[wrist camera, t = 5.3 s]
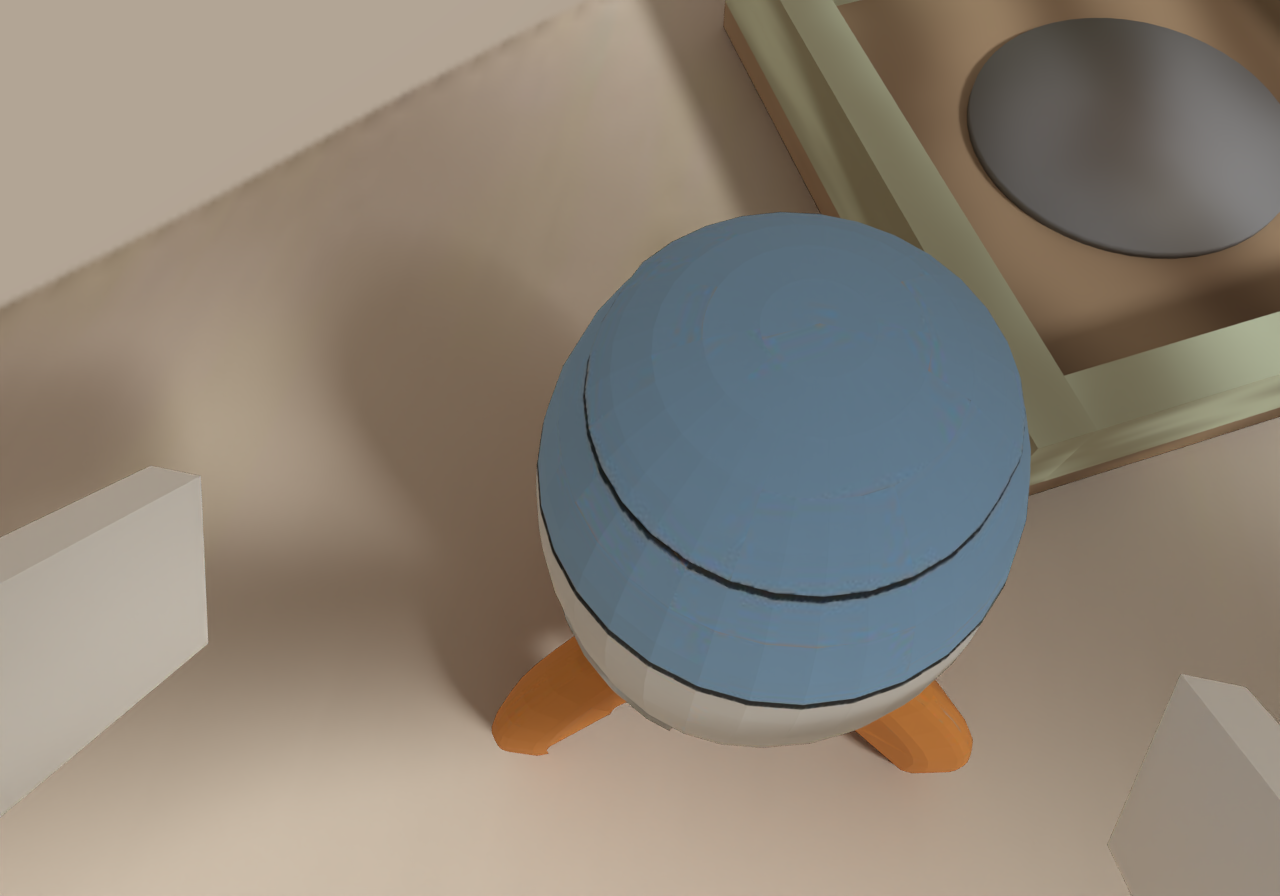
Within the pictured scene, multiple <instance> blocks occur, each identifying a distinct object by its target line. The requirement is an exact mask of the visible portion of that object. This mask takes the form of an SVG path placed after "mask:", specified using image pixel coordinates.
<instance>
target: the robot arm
mask: <svg viewBox="0 0 1280 896" xmlns="http://www.w3.org/2000/svg"><path fill="white" fill-rule="evenodd" d="M207 644H208V624H207V602H206V579H205V556H204V534H203V511H202V488H201V476H200V475H195V474H190V473H185V472H180V471H175V470H170V469H165V468H160V467H155V466H149V467H147V468H145V469H143V470H140V471H138V472H136V473H134V474H132V475H130V476H128V477H126V478H124V479H122V480H119V481H117V482H115V483H113V484H111V485H109V486H107V487H105V488H103V489H101V490H99V491H96V492H94V493H92V494H90V495H88V496H86V497H84V498H82V499H80V500H78V501H75V502H73V503H71V504H69V505H67V506H65V507H63V508H61V509H59V510H57V511H55V512H52V513H50V514H48V515H46V516H44V517H42V518H40V519H38V520H36V521H34V522H31V523H29V524H27V525H25V526H23V527H21V528H19V529H17V530H15V531H13V532H11V533H8V534H6V535H4V536H2V537H0V817H1V816H3V815H4V814H5V813H6V812H7V811H8V810H10V809H11V808H12V807H13V806H14V805H16V804H17V803H18V802H19V801H20V800H22V799H23V798H24V797H25V796H26V795H28V794H29V793H30V792H31V791H32V790H34V789H35V788H36V787H37V786H38V785H40V784H41V783H42V782H43V781H44V780H46V779H47V778H48V777H49V776H50V775H52V774H53V773H54V772H55V771H56V770H58V769H59V768H60V767H61V766H62V765H63V764H65V763H66V762H67V761H68V760H69V759H71V758H72V757H73V756H74V755H75V754H77V753H78V752H79V751H80V750H81V749H83V748H84V747H85V746H86V745H87V744H89V743H90V742H91V741H92V740H93V739H95V738H96V737H97V736H98V735H99V734H101V733H102V732H103V731H104V730H105V729H107V728H108V727H109V726H110V725H111V724H113V723H114V722H115V721H116V720H117V719H118V718H120V717H121V716H122V715H123V714H124V713H126V712H127V711H128V710H129V709H130V708H132V707H133V706H134V705H135V704H136V703H138V702H139V701H140V700H141V699H142V698H144V697H145V696H146V695H147V694H148V693H150V692H151V691H152V690H153V689H154V688H156V687H157V686H158V685H159V684H160V683H162V682H163V681H164V680H165V679H166V678H167V677H169V676H170V675H171V674H172V673H173V672H175V671H176V670H177V669H178V668H179V667H181V666H182V665H183V664H184V663H185V662H187V661H188V660H189V659H190V658H191V657H193V656H194V655H195V654H196V653H197V652H199V651H200V650H201V649H202V648H203V647H205V646H206V645H207ZM1107 845H1108V848H1109V850H1110V852H1111V854H1112V856H1113V858H1114V860H1115V862H1116V864H1117V866H1118V868H1119V870H1120V872H1121V875H1122V877H1123V879H1124V881H1125V883H1126V885H1127V887H1128V889H1129V891H1130V893H1131V895H1132V896H1280V725H1279V724H1278V722H1277V721H1276V720H1275V719H1274V718H1273V717H1272V716H1271V715H1270V713H1269V712H1268V711H1267V710H1266V709H1265V708H1264V707H1263V706H1262V705H1261V703H1260V702H1259V701H1258V700H1257V699H1256V698H1255V697H1254V696H1253V694H1252V693H1251V692H1250V691H1249V690H1248V689H1247V688H1246V687H1244V686H1239V685H1234V684H1229V683H1224V682H1219V681H1214V680H1209V679H1204V678H1199V677H1194V676H1189V675H1184V674H1180V676H1179V679H1178V681H1177V683H1176V686H1175V688H1174V690H1173V693H1172V695H1171V697H1170V700H1169V702H1168V704H1167V707H1166V709H1165V711H1164V714H1163V716H1162V718H1161V721H1160V723H1159V725H1158V728H1157V730H1156V732H1155V735H1154V737H1153V739H1152V742H1151V744H1150V746H1149V749H1148V751H1147V753H1146V756H1145V758H1144V760H1143V763H1142V765H1141V767H1140V770H1139V772H1138V774H1137V777H1136V779H1135V781H1134V784H1133V786H1132V788H1131V791H1130V793H1129V795H1128V798H1127V800H1126V802H1125V805H1124V807H1123V809H1122V812H1121V814H1120V816H1119V819H1118V821H1117V823H1116V826H1115V828H1114V830H1113V833H1112V835H1111V837H1110V840H1109V842H1108V844H1107Z"/></svg>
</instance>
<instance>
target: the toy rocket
mask: <svg viewBox="0 0 1280 896" xmlns="http://www.w3.org/2000/svg"><path fill="white" fill-rule="evenodd" d="M1030 462H1031V447H1030V439H1029V432H1028V425H1027V417H1026V410H1025V405H1024V398H1023V391H1022V383H1021V377H1020V374H1019V372H1018V369H1017V366H1016V363H1015V361H1014V358H1013V355H1012V352H1011V350H1010V347H1009V344H1008V342H1007V340H1006V338H1005V337H1004V335H1003V333H1002V332H1001V330H1000V328H999V327H998V325H997V323H996V322H995V320H994V319H993V317H992V315H991V314H990V312H989V310H988V309H987V308H986V306H985V305H984V304H983V303H982V302H981V301H980V300H979V299H978V298H977V296H976V295H975V294H974V293H973V292H972V291H971V290H970V289H969V287H968V286H967V285H966V284H965V283H964V282H963V281H962V280H961V279H960V278H959V277H958V276H956V275H955V274H954V273H953V272H951V271H950V270H949V269H947V268H946V267H945V266H944V265H942V264H941V263H940V262H939V261H937V260H936V259H935V258H934V257H932V256H931V255H930V254H928V253H926V252H924V251H922V250H921V249H919V248H917V247H915V246H913V245H912V244H910V243H908V242H906V241H904V240H903V239H901V238H899V237H897V236H895V235H893V234H890V233H887V232H885V231H882V230H879V229H876V228H874V227H871V226H868V225H865V224H863V223H860V222H857V221H852V220H847V219H842V218H837V217H832V216H827V215H822V214H809V213H788V212H777V213H768V214H758V215H749V216H741V217H737V218H734V219H730V220H726V221H723V222H719V223H715V224H712V225H708V226H705V227H703V228H701V229H699V230H696V231H694V232H692V233H690V234H688V235H686V236H683V237H681V238H679V239H677V240H675V241H673V242H671V243H670V244H668V245H667V246H665V247H664V248H663V249H661V250H660V251H658V252H657V253H655V254H654V255H653V256H651V257H650V258H648V259H647V260H646V261H644V262H643V263H642V264H641V265H640V266H639V268H638V269H637V270H636V272H635V273H634V274H633V276H632V277H631V278H630V279H629V280H627V281H626V282H625V283H624V284H623V285H622V286H621V287H620V288H619V289H618V291H617V292H616V293H615V294H614V295H613V296H612V297H611V298H610V299H609V300H608V301H607V302H606V303H605V304H604V305H603V306H602V307H601V308H600V309H599V310H598V312H597V313H596V315H595V316H594V318H593V320H592V321H591V323H590V324H589V326H588V327H587V329H586V331H585V332H584V334H583V335H582V337H581V338H580V340H579V342H578V343H577V345H576V346H575V348H574V350H573V351H572V353H571V354H570V356H569V358H568V359H567V361H566V362H565V364H564V365H563V368H562V371H561V373H560V376H559V379H558V381H557V384H556V387H555V390H554V392H553V395H552V398H551V400H550V403H549V406H548V409H547V412H546V416H545V419H544V423H543V427H542V434H541V441H540V448H539V455H538V462H537V473H536V493H537V507H538V521H539V531H540V537H541V542H542V548H543V552H544V556H545V559H546V563H547V566H548V570H549V573H550V577H551V580H552V584H553V587H554V590H555V593H556V595H557V597H558V599H559V601H560V603H561V605H562V608H563V611H564V615H565V618H566V621H567V622H568V624H569V626H570V628H571V630H572V632H573V634H574V637H572V638H571V639H570V640H568V641H567V642H565V643H564V644H563V645H561V646H560V647H558V648H557V649H555V650H554V651H553V652H552V653H550V654H549V655H548V656H546V657H545V658H544V659H543V660H541V661H540V662H539V663H537V664H536V665H535V666H534V667H533V668H532V669H531V670H530V671H528V672H527V673H526V674H525V675H524V676H523V677H522V678H521V679H520V681H519V682H518V683H517V684H516V686H515V687H514V688H513V689H512V691H511V692H510V694H509V695H508V697H507V698H506V700H505V701H504V703H503V704H502V706H501V707H500V709H499V710H498V712H497V714H496V717H495V720H494V722H493V725H492V734H493V737H494V739H495V741H496V743H497V745H498V746H499V747H500V748H501V749H502V750H505V751H509V752H515V753H522V754H529V755H536V756H538V755H543V754H548V752H547V751H546V750H547V749H548V748H549V747H550V746H551V745H553V744H555V743H557V742H559V741H561V740H562V739H564V738H566V737H568V736H570V735H572V734H574V733H575V732H577V731H579V730H581V729H583V728H585V727H586V726H588V725H590V724H592V723H594V722H596V721H598V720H599V719H601V718H603V717H605V716H607V715H609V714H610V713H611V712H612V710H613V709H614V708H615V707H617V706H619V705H621V704H623V703H626V702H627V703H628V704H630V705H631V706H632V707H633V708H634V709H636V710H637V711H638V712H639V713H641V714H642V715H643V716H644V717H645V718H647V719H648V720H650V721H652V722H654V723H656V724H658V725H660V726H662V727H663V728H665V729H667V730H669V731H670V730H671V728H672V727H673V728H675V729H677V730H679V731H681V732H682V733H684V734H688V735H691V736H694V737H698V738H701V739H705V740H708V741H712V742H715V743H718V744H724V745H736V746H748V747H760V748H766V747H776V746H788V745H799V744H810V743H813V742H817V741H821V740H824V739H828V738H831V737H835V736H838V735H842V734H846V733H849V732H852V731H856V732H857V733H858V734H860V735H861V736H862V737H863V738H864V739H865V740H867V741H868V742H869V743H870V744H871V745H872V746H874V747H875V748H876V749H877V750H878V751H879V752H881V753H882V754H883V755H884V756H885V757H886V758H888V759H889V760H890V761H891V762H892V763H893V764H895V765H896V766H897V767H898V768H899V769H900V770H903V771H906V772H910V773H932V772H951V771H955V770H957V769H959V768H960V767H962V766H964V765H965V764H966V763H967V762H968V759H969V757H970V755H971V750H972V743H973V739H972V737H971V734H970V731H969V729H968V726H967V724H966V722H965V719H964V718H963V717H962V715H961V714H960V713H959V711H958V710H957V709H956V707H955V706H954V704H953V703H952V702H951V700H950V699H949V698H948V696H947V695H946V694H945V692H944V691H943V690H942V688H941V687H940V685H939V684H938V683H937V682H936V681H935V679H936V678H937V677H938V676H939V675H940V674H941V673H942V672H944V671H945V670H946V669H947V668H948V667H949V666H950V665H951V664H952V663H953V662H954V661H955V659H956V658H957V657H958V656H959V654H960V653H961V652H962V651H963V650H964V648H965V647H966V646H967V645H968V644H969V642H970V641H971V639H972V637H973V636H974V634H975V633H976V631H977V629H978V628H979V626H980V625H981V623H982V621H983V620H984V618H985V617H986V615H987V613H988V612H989V610H990V609H991V607H992V605H993V604H994V602H995V601H996V599H997V597H998V596H999V594H1000V592H1001V591H1002V589H1003V587H1004V586H1005V583H1006V580H1007V577H1008V574H1009V571H1010V568H1011V565H1012V562H1013V559H1014V556H1015V553H1016V550H1017V547H1018V544H1019V541H1020V538H1021V535H1022V532H1023V529H1024V525H1025V522H1026V517H1027V506H1028V495H1029V484H1030Z"/></svg>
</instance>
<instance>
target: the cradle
mask: <svg viewBox="0 0 1280 896" xmlns="http://www.w3.org/2000/svg"><path fill="white" fill-rule="evenodd" d="M723 27H724V29H725V30H726V32H727V34H728V36H729V38H730V40H731V42H732V44H733V46H734V48H735V50H736V52H737V54H738V55H739V57H740V59H741V61H742V63H743V65H744V67H745V69H746V71H747V73H748V75H749V77H750V78H751V80H752V82H753V84H754V86H755V88H756V90H757V92H758V94H759V96H760V98H761V100H762V101H763V103H764V105H765V107H766V109H767V111H768V113H769V115H770V117H771V119H772V121H773V123H774V125H775V126H776V128H777V130H778V132H779V134H780V136H781V138H782V140H783V142H784V144H785V146H786V148H787V149H788V151H789V153H790V155H791V157H792V159H793V161H794V163H795V165H796V167H797V169H798V171H799V173H800V174H801V176H802V178H803V180H804V182H805V184H806V186H807V188H808V190H809V192H810V194H811V196H812V197H813V199H814V201H815V203H816V205H817V207H818V209H819V211H820V213H821V214H822V215H827V216H832V217H837V218H842V219H847V220H852V221H857V222H860V223H863V224H865V225H868V226H871V227H874V228H876V229H879V230H882V231H885V232H887V233H890V234H893V235H895V236H897V237H899V238H901V239H903V240H904V241H906V242H908V243H910V244H912V245H913V246H915V247H917V248H919V249H921V250H922V251H924V252H926V253H928V254H930V255H931V256H932V257H934V258H935V259H936V260H937V261H939V262H940V263H941V264H942V265H944V266H945V267H946V268H947V269H949V270H950V271H951V272H953V273H954V274H955V275H956V276H958V277H959V278H960V279H961V280H962V281H963V282H964V283H965V284H966V285H967V286H968V287H969V289H970V290H971V291H972V292H973V293H974V294H975V295H976V296H977V298H978V299H979V300H980V301H981V302H982V303H983V304H984V305H985V306H986V308H987V309H988V310H989V312H990V314H991V315H992V317H993V319H994V320H995V322H996V323H997V325H998V327H999V328H1000V330H1001V332H1002V333H1003V335H1004V337H1005V338H1006V340H1007V342H1008V344H1009V347H1010V350H1011V352H1012V355H1013V358H1014V361H1015V363H1016V366H1017V369H1018V372H1019V374H1020V377H1021V383H1022V391H1023V398H1024V405H1025V410H1026V417H1027V425H1028V432H1029V439H1030V447H1031V462H1030V484H1029V495H1032V494H1036V493H1039V492H1042V491H1045V490H1048V489H1052V488H1055V487H1058V486H1061V485H1064V484H1067V483H1071V482H1074V481H1077V480H1080V479H1083V478H1086V477H1090V476H1093V475H1096V474H1099V473H1102V472H1105V471H1109V470H1112V469H1115V468H1118V467H1121V466H1125V465H1128V464H1131V463H1134V462H1137V461H1140V460H1144V459H1147V458H1150V457H1153V456H1156V455H1159V454H1163V453H1166V452H1169V451H1172V450H1175V449H1178V448H1182V447H1185V446H1188V445H1191V444H1194V443H1198V442H1201V441H1204V440H1207V439H1210V438H1213V437H1217V436H1220V435H1223V434H1226V433H1229V432H1232V431H1236V430H1239V429H1242V428H1245V427H1248V426H1252V425H1255V424H1258V423H1261V422H1264V421H1267V420H1271V419H1274V418H1277V417H1280V0H725V11H724V23H723ZM1029 495H1028V496H1029Z"/></svg>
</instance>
